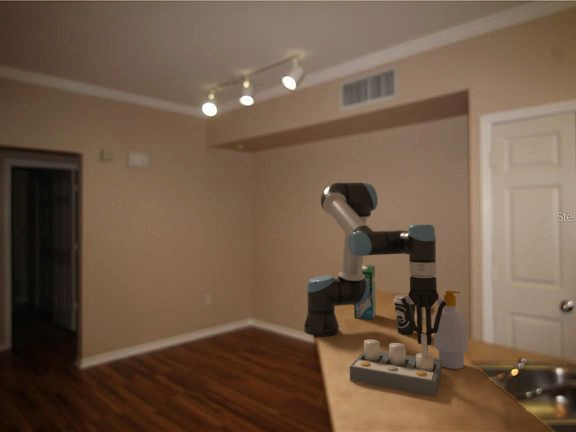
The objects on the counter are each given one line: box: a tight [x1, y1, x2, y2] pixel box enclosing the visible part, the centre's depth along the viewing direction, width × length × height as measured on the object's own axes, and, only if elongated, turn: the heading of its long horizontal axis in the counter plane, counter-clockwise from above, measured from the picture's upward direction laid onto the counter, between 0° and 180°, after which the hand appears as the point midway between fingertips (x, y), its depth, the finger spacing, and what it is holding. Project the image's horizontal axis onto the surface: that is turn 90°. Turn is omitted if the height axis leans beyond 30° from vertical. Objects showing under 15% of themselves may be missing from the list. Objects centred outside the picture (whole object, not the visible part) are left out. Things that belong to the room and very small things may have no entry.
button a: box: [363, 338, 381, 362], centre depth 118 cm, size 5×5×6 cm
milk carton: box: [353, 264, 377, 320], centre depth 185 cm, size 9×9×25 cm
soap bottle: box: [433, 290, 469, 370], centre depth 121 cm, size 10×10×24 cm
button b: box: [388, 342, 406, 367], centre depth 114 cm, size 5×5×6 cm
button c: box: [415, 352, 434, 371], centre depth 111 cm, size 5×5×6 cm
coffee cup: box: [392, 294, 416, 336], centre depth 157 cm, size 10×10×15 cm
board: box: [349, 350, 443, 397], centre depth 113 cm, size 24×17×4 cm
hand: (425, 355), depth 110 cm, fingers closed
